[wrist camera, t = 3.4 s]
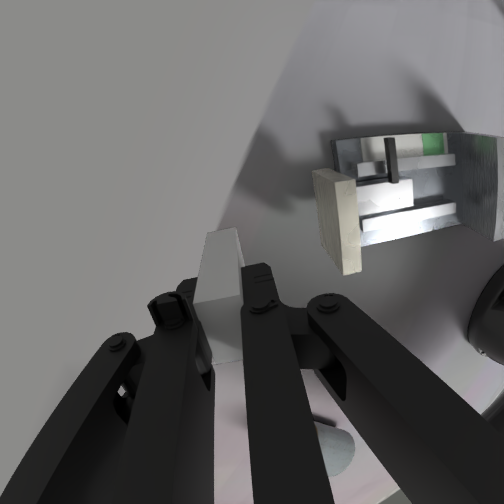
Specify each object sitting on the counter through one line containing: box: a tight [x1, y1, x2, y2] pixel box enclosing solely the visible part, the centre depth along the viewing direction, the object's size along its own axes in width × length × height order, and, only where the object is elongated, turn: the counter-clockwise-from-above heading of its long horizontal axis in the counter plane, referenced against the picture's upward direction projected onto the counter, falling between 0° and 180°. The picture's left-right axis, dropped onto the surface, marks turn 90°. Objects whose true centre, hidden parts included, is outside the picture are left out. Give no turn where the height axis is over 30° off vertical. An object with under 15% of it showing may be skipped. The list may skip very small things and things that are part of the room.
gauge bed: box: [331, 132, 504, 247], centre depth 20 cm, size 15×9×6 cm, turn 101°
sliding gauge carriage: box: [312, 137, 413, 276], centre depth 18 cm, size 8×7×6 cm
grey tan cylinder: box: [314, 421, 355, 477], centre depth 33 cm, size 11×8×8 cm
